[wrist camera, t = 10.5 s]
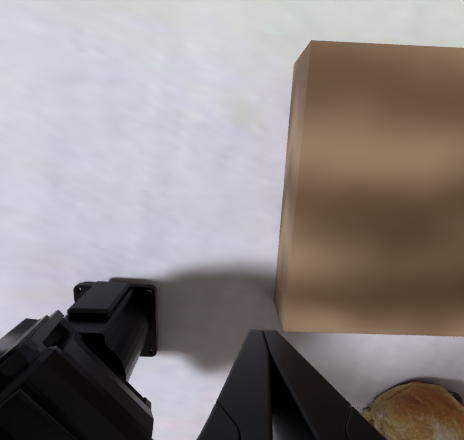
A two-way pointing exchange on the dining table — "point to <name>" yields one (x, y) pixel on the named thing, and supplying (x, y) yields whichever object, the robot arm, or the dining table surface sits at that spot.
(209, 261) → the dining table surface
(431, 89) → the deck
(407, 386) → the bread roll
